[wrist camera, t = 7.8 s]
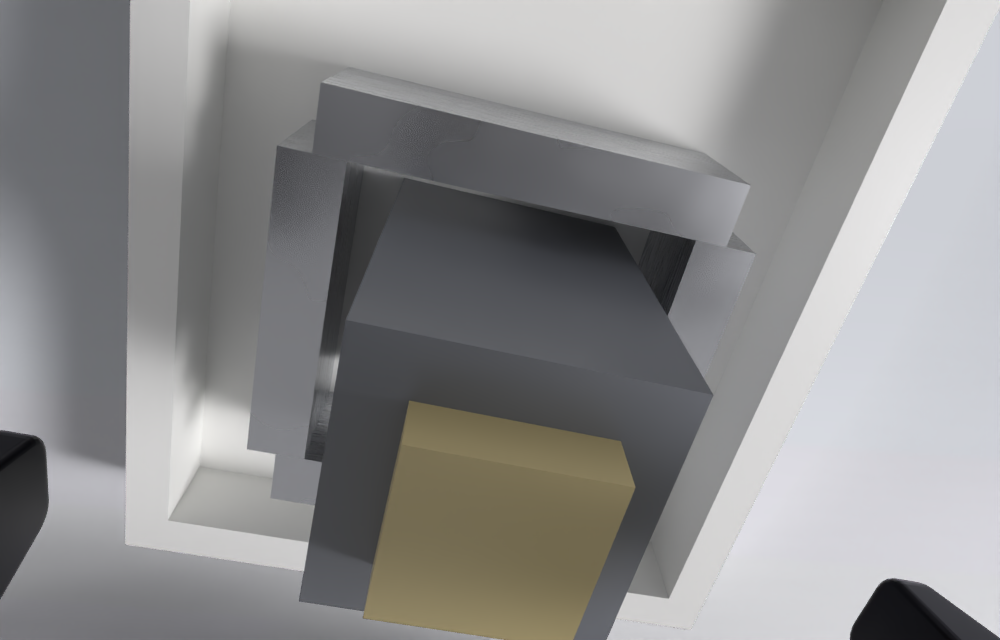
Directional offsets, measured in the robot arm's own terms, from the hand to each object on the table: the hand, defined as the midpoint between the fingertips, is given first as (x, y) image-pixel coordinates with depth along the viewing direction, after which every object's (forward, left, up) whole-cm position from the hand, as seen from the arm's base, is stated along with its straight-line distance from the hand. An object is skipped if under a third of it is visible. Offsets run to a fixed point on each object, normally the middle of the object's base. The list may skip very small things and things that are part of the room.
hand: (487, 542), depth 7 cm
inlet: (0, 0, -7) cm, 7 cm away
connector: (0, 0, -7) cm, 7 cm away
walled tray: (+1, 0, -7) cm, 7 cm away
